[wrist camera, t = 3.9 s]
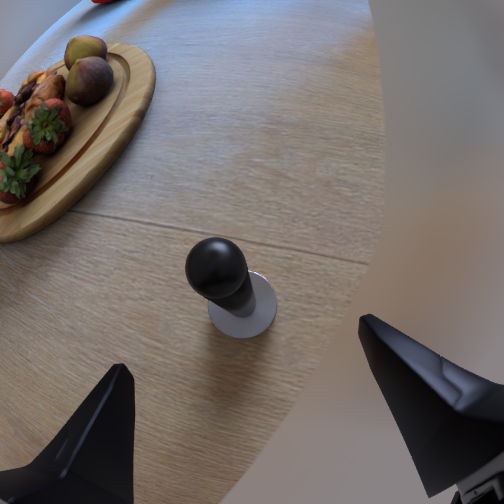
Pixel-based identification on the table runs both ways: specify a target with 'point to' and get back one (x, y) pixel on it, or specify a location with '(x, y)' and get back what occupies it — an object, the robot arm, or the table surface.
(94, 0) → the red vase
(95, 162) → the wooden plate
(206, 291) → the coffee tamper
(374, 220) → the table surface
